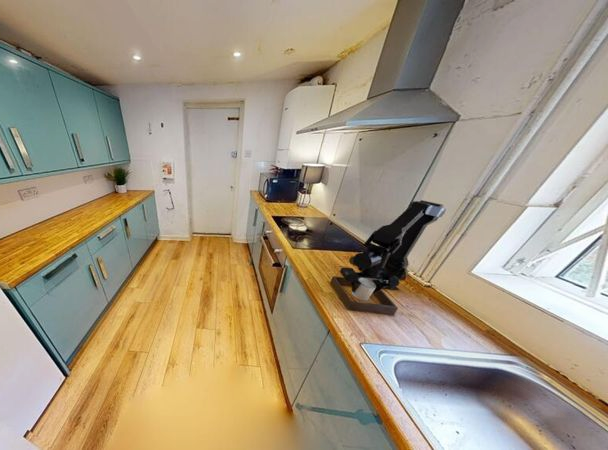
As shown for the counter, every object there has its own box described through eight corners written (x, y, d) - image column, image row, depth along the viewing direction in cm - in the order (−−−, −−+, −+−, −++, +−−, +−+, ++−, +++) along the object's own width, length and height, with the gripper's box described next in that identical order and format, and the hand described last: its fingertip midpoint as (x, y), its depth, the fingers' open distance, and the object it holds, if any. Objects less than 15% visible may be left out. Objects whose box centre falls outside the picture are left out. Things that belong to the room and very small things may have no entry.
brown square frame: (369, 287, 89) (372, 280, 87) (393, 315, 74) (398, 307, 73) (330, 282, 90) (332, 275, 89) (346, 309, 76) (350, 302, 75)
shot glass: (373, 303, 78) (380, 289, 75) (354, 300, 80) (360, 286, 77) (364, 291, 84) (370, 278, 82) (347, 288, 86) (352, 275, 83)
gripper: (387, 252, 81) (373, 282, 88) (339, 248, 83) (329, 277, 90) (408, 268, 71) (391, 301, 77) (353, 263, 73) (340, 295, 80)
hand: (361, 292), depth 81 cm, fingers closed on shot glass, 6 cm apart
